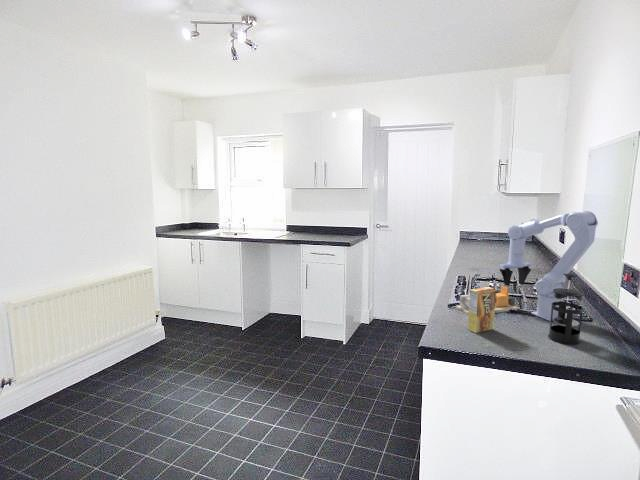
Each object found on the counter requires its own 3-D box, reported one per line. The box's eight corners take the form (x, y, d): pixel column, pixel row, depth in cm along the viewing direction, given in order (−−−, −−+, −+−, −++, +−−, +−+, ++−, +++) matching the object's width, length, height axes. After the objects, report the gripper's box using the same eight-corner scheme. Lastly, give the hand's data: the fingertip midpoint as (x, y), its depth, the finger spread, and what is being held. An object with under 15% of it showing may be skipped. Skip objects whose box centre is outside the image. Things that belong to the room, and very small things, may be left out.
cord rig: (519, 309, 168) (520, 296, 167) (470, 315, 161) (471, 301, 160) (502, 302, 177) (503, 289, 176) (455, 307, 171) (456, 294, 170)
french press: (584, 347, 131) (591, 279, 128) (551, 343, 134) (557, 276, 131) (574, 334, 142) (580, 271, 138) (544, 330, 145) (550, 269, 142)
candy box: (484, 325, 150) (487, 286, 148) (493, 329, 146) (496, 289, 144) (467, 329, 146) (469, 289, 144) (476, 333, 143) (478, 292, 140)
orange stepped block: (507, 305, 169) (509, 288, 168) (498, 306, 168) (499, 289, 167) (500, 302, 173) (501, 285, 172) (490, 303, 172) (492, 286, 171)
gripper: (523, 250, 175) (520, 281, 178) (495, 252, 171) (493, 283, 173) (536, 253, 169) (533, 285, 171) (507, 255, 165) (505, 287, 167)
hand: (514, 284), depth 172 cm, fingers open, 7 cm apart
